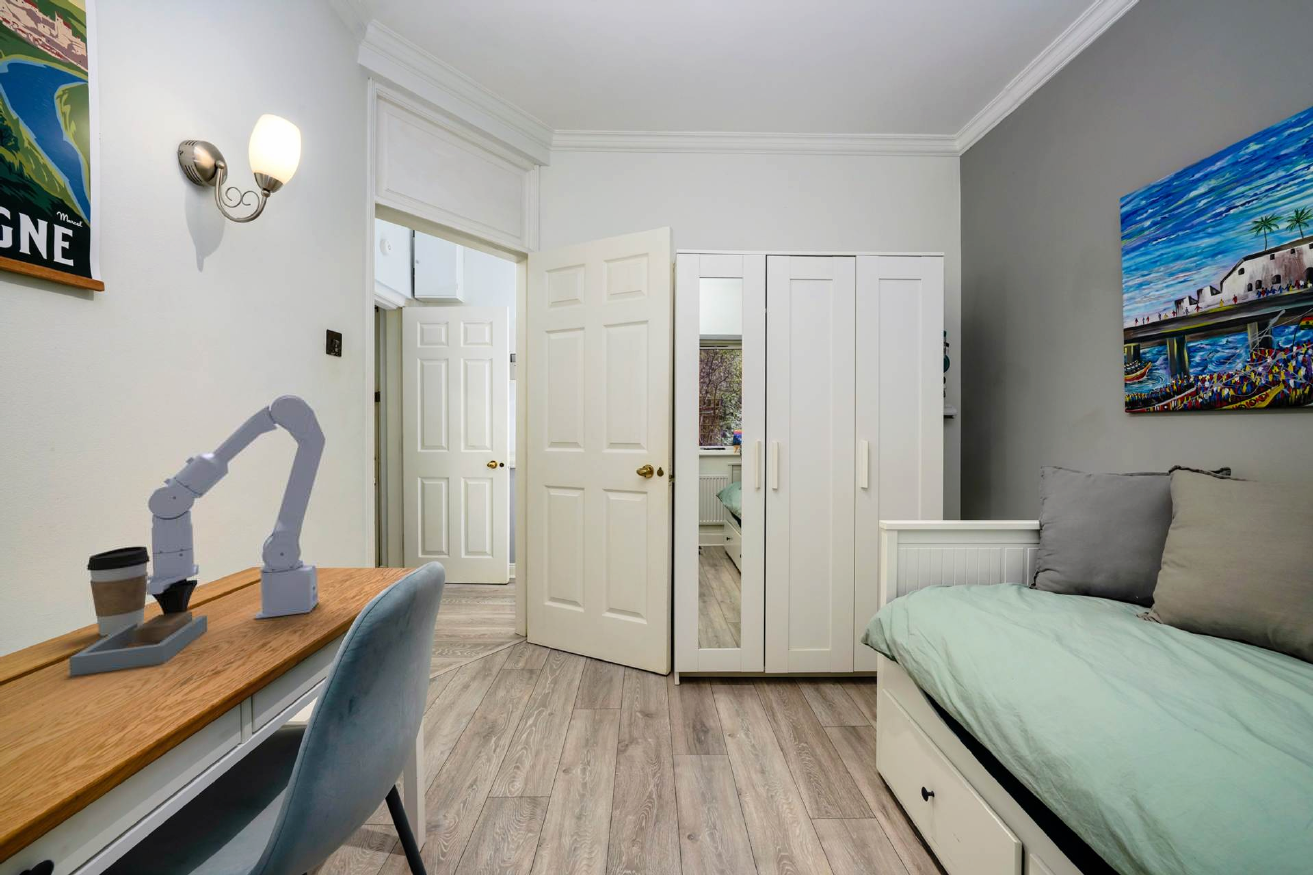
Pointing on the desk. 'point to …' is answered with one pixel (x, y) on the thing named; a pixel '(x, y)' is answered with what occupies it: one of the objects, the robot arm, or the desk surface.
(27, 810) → the desk surface
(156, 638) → the walnut block
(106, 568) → the coffee cup
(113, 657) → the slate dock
